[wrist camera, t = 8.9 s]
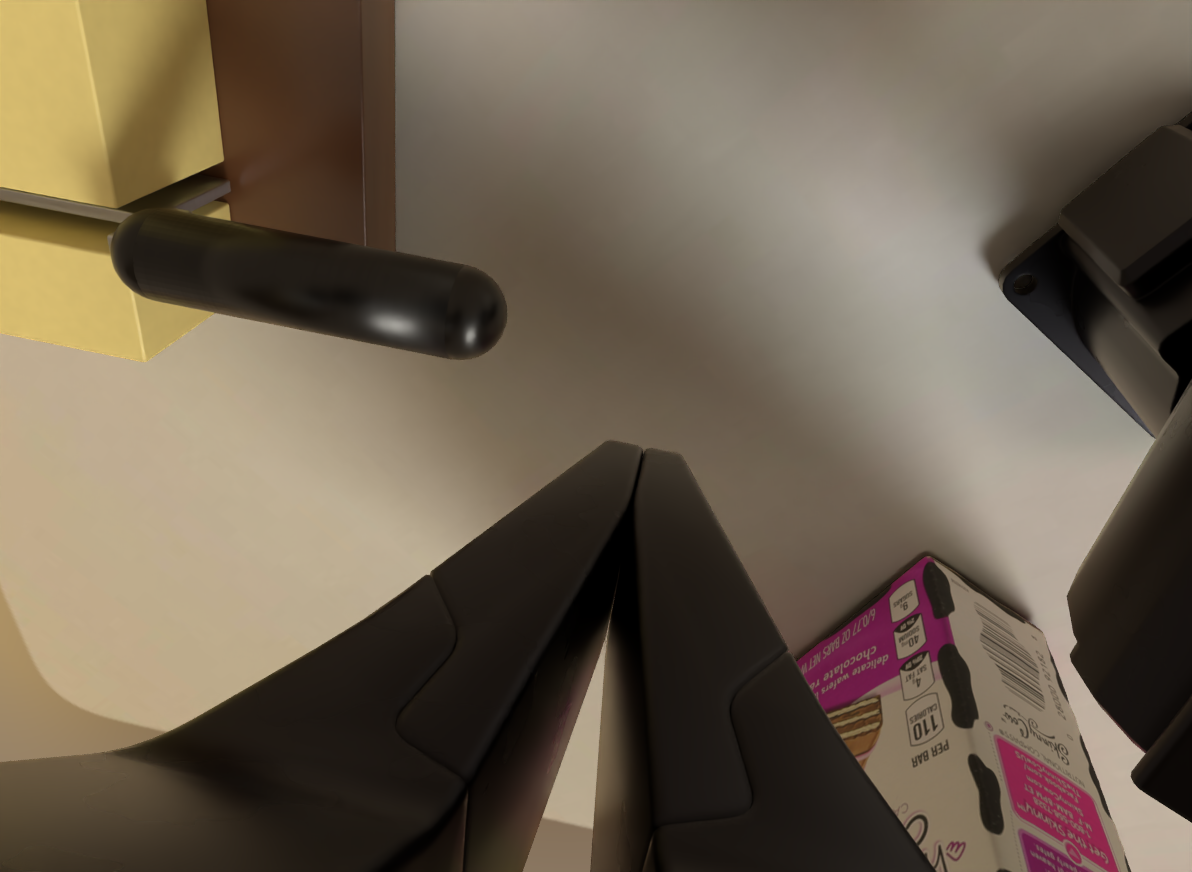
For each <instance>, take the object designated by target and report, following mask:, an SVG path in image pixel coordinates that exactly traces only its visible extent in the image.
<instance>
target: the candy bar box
mask: <svg viewBox="0 0 1192 872" xmlns="http://www.w3.org/2000/svg"><path fill="white" fill-rule="evenodd" d="M797 664H798V666H799V668H800V670H801V671H802V673H803V675H804V677H805V679H806V680H807V682H808V684H809V685H810V687H811V689H812V690H813V692H814V694H815V695H816V697H817V699H818V701H819V702H820V704H821V706H822V707H823V709H824V711H825V712H826V714H827V716H828V717H829V719H830V721H831V722H832V724H833V725H834V727H835V728H836V730H837V731H838V733H839V734H840V736H841V737H842V739H843V740H844V741H845V743H846V744H847V746H848V747H849V749H850V750H851V752H852V753H853V755H854V756H855V758H856V759H857V761H858V762H859V764H860V765H861V767H862V768H863V769H864V771H865V772H866V774H867V775H868V777H869V778H870V779H871V781H872V782H873V783H874V785H875V786H876V788H877V789H878V790H879V792H880V793H881V795H882V796H883V797H884V799H885V800H886V802H887V803H888V804H889V806H890V807H891V809H892V810H893V811H894V813H895V814H896V816H897V817H898V818H899V820H900V821H901V822H902V824H903V825H904V827H905V828H906V829H907V831H908V832H909V834H910V835H911V836H912V838H913V839H914V841H915V842H916V843H917V845H918V846H919V848H920V849H921V850H922V852H923V853H924V855H925V856H926V857H927V859H928V860H929V861H930V863H931V864H932V866H933V867H934V868H935V870H936V871H937V872H1131V870H1130V867H1129V865H1128V862H1127V859H1126V856H1125V852H1124V848H1123V845H1122V843H1121V841H1120V838H1119V835H1118V832H1117V829H1116V827H1115V824H1114V822H1113V820H1112V818H1111V816H1110V813H1109V810H1108V807H1107V804H1106V801H1105V798H1104V795H1103V793H1102V790H1101V788H1100V784H1099V781H1098V779H1097V776H1096V774H1095V771H1094V768H1093V766H1092V763H1091V760H1090V757H1089V754H1088V751H1087V749H1086V747H1085V744H1084V742H1083V739H1082V736H1081V734H1080V731H1079V728H1078V725H1077V721H1076V718H1075V716H1074V714H1073V711H1072V709H1071V707H1070V705H1069V701H1068V698H1067V695H1066V692H1065V689H1064V687H1063V684H1062V681H1061V679H1060V676H1059V673H1058V670H1057V668H1056V666H1055V663H1054V659H1053V657H1052V655H1051V653H1050V650H1049V648H1048V645H1047V642H1046V638H1045V636H1044V634H1043V632H1042V631H1041V630H1040V629H1039V628H1037V627H1036V626H1034V625H1033V624H1031V623H1030V622H1028V621H1027V620H1026V619H1024V618H1023V617H1021V616H1020V615H1018V614H1017V613H1015V612H1014V611H1012V610H1011V609H1009V608H1007V607H1005V606H1004V605H1002V604H1000V603H998V602H997V601H995V600H994V599H993V598H991V597H990V596H988V595H987V594H985V593H984V592H983V591H981V590H980V589H979V588H978V587H976V586H975V585H973V584H971V583H970V582H968V581H967V580H966V579H965V578H964V577H962V576H961V575H959V574H958V573H957V572H955V571H954V570H952V569H950V568H949V567H947V566H945V565H943V564H942V563H940V562H939V561H937V560H936V559H934V558H933V557H930V556H927V557H924V558H923V559H921V560H920V561H919V562H918V563H916V564H915V565H914V566H913V567H912V568H910V569H909V570H908V571H907V572H906V573H904V574H903V575H902V576H901V577H900V578H898V579H897V580H896V581H895V582H893V583H892V584H891V585H890V586H889V587H888V588H886V589H885V590H884V591H883V592H882V593H880V594H879V595H878V596H877V597H875V598H874V599H873V600H872V601H870V602H869V603H868V604H867V605H865V606H864V607H863V608H862V609H861V610H860V611H858V612H857V613H856V614H855V615H853V616H852V617H851V618H850V619H849V620H847V621H846V622H845V623H843V624H842V625H841V626H840V627H839V628H837V629H836V630H835V631H834V632H833V633H832V634H830V635H829V636H828V637H826V638H825V639H824V640H823V641H822V642H820V643H819V644H818V645H816V646H815V647H814V648H812V649H811V650H810V651H809V652H808V653H806V654H805V655H804V656H803V657H802V658H800V659H799V660H798V661H797Z"/></svg>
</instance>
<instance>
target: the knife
mask: <svg viewBox="0 0 1192 872" xmlns="http://www.w3.org/2000/svg"><path fill="white" fill-rule="evenodd" d="M229 192H231V188H230V181H229V180H226V179H221V178H215V177H210V176H204V175H199V174H193V175H191V176H189V177H187V178H184V179H182V180H180V181H178V182H175V183H173V184H171V185H169V186H166V187H164V188H162V189H160V190H157V191H155V192H153V193H151V194H148V195H146V196H144V197H141V198H139V199H137V200H135V201H132V202H130V203H128V204H126V205H123V206H121V207H119V208H110V207H105V206H99V205H94V204H89V203H84V202H78V201H73V200H68V199H62V198H57V197H52V196H46V195H41V194H36V193H31V192H25V191H20V190H15V189H9V188H4V187H0V201H5V202H11V203H16V204H21V205H26V206H32V207H37V208H42V209H48V210H53V211H58V212H63V213H69V214H74V215H79V216H84V217H90V218H95V219H100V220H105V221H111V222H116V223H120V224H119V226H118V227H117V229H116V231H115V232H113V233H111V234H109V235H108V236H107V240H108V245H109V250H110V255H111V260H112V264H113V267H114V269H115V272H116V273H117V275H118V276H119V278H120V279H121V281H122V282H123V283H124V284H125V285H126V286H127V287H129V288H130V289H131V290H132V291H133V292H135V293H137V294H138V295H140V296H142V297H144V298H147V299H150V300H153V301H157V302H162V303H168V304H173V305H178V306H183V307H188V308H193V309H198V310H203V311H208V312H213V313H218V314H223V315H229V316H234V317H239V318H244V319H249V320H254V321H259V322H264V323H269V324H274V325H279V326H285V327H290V328H295V329H300V330H305V331H310V332H315V333H320V334H325V335H330V336H335V337H340V338H346V339H351V340H356V341H361V342H366V343H371V344H376V345H381V346H386V347H391V348H396V349H401V350H407V351H412V352H417V353H422V354H427V355H432V356H437V357H442V358H447V359H456V360H467V359H472V358H476V357H479V356H481V355H482V354H484V353H486V352H488V351H489V350H490V349H491V348H492V347H494V346H495V345H496V343H497V342H498V340H499V339H500V338H501V336H502V334H503V332H504V329H505V326H506V322H507V305H506V301H505V298H504V295H503V293H502V291H501V289H500V287H499V286H498V284H497V283H496V282H495V281H494V280H493V279H492V278H491V277H490V276H489V275H488V274H486V273H485V272H483V271H481V270H479V269H477V268H475V267H472V266H468V265H463V264H458V263H453V262H447V261H442V260H437V259H432V258H426V257H421V256H416V255H410V254H405V253H400V252H394V251H389V250H384V249H378V248H373V247H368V246H362V245H357V244H352V243H346V242H341V241H336V240H330V239H325V238H320V237H314V236H309V235H304V234H298V233H293V232H288V231H282V230H277V229H272V228H266V227H261V226H256V225H250V224H245V223H240V222H234V221H229V220H224V219H218V218H213V217H208V216H202V215H197V214H193V213H192V211H194V210H196V209H198V208H200V207H202V206H204V205H206V204H208V203H210V202H212V201H214V200H216V199H217V198H219V197H221V196H223V195H225V194H227V193H229Z"/></svg>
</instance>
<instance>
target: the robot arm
mask: <svg viewBox="0 0 1192 872" xmlns="http://www.w3.org/2000/svg"><path fill="white" fill-rule="evenodd" d="M1028 274H1030V275H1032V276H1033V277H1032V281H1031V282H1030V284H1029V285H1028V286H1026V287H1024V288H1018V289H1016V288H1014V282H1015V281H1016V280H1017V278H1018V277H1020V276H1022V275H1028ZM999 287H1000V289H1001V290H1002V292H1003V294H1004V295H1005V297H1006V298H1007V300H1008V301H1010V302H1011V303H1012V304H1013V305H1014V306H1015V307H1016V308H1017V309H1018V310H1019V311H1020V312H1021V313H1022V314H1023V315H1024V316H1025V317H1026V318H1027V319H1028V320H1030V321H1031V322H1032V323H1033V324H1034V325H1035V326H1036V327H1037V328H1038V329H1039V330H1040V331H1041V332H1042V333H1043V334H1044V335H1045V336H1046V337H1047V338H1049V339H1050V340H1051V341H1052V342H1053V343H1054V344H1055V345H1056V346H1057V347H1058V348H1059V349H1060V350H1061V351H1062V352H1063V353H1064V354H1065V355H1066V356H1067V357H1069V358H1070V359H1071V360H1072V361H1073V362H1074V363H1075V364H1076V365H1077V366H1078V367H1079V368H1080V369H1081V370H1082V371H1083V372H1084V373H1085V374H1086V375H1087V376H1089V377H1090V378H1091V379H1092V380H1093V381H1094V382H1095V383H1096V384H1097V385H1098V386H1099V387H1100V388H1101V389H1102V390H1103V391H1104V392H1105V393H1106V394H1108V395H1109V396H1110V397H1111V398H1112V399H1113V400H1114V401H1115V402H1116V403H1117V404H1118V405H1119V406H1120V407H1121V408H1122V409H1123V410H1124V411H1125V412H1126V413H1128V414H1129V415H1130V416H1131V417H1132V418H1133V419H1134V420H1135V421H1136V422H1137V423H1138V424H1139V425H1140V426H1141V427H1142V428H1143V429H1144V430H1145V431H1146V432H1148V433H1149V434H1150V435H1151V436H1152V437H1154V438H1155V439H1156V440H1155V442H1154V443H1153V445H1152V447H1151V448H1150V450H1149V452H1148V453H1147V455H1146V457H1145V459H1144V460H1143V462H1142V464H1141V465H1140V467H1139V469H1138V470H1137V472H1136V474H1135V475H1134V477H1133V479H1132V480H1131V482H1130V484H1129V485H1128V487H1127V489H1126V491H1125V492H1124V494H1123V496H1122V497H1121V499H1120V501H1119V502H1118V504H1117V506H1116V507H1115V509H1114V511H1113V512H1112V514H1111V516H1110V517H1109V519H1108V521H1107V523H1106V524H1105V526H1104V528H1103V529H1102V531H1101V533H1100V534H1099V536H1098V538H1097V539H1096V541H1095V543H1094V544H1093V546H1092V548H1091V549H1090V551H1089V553H1088V555H1087V556H1086V558H1085V560H1084V561H1083V563H1082V565H1081V566H1080V568H1079V570H1078V572H1077V574H1076V576H1075V579H1074V581H1073V583H1072V585H1071V588H1070V590H1069V592H1068V595H1067V600H1068V606H1069V611H1070V617H1071V622H1072V628H1073V633H1074V636H1075V638H1076V640H1077V644H1076V645H1075V647H1074V648H1073V650H1072V652H1071V654H1070V658H1071V662H1072V664H1073V665H1074V667H1075V668H1076V670H1077V671H1078V673H1079V675H1080V676H1081V678H1082V679H1083V681H1084V683H1085V684H1086V686H1087V687H1088V689H1089V690H1090V692H1091V694H1092V695H1093V697H1094V698H1095V699H1096V701H1097V702H1098V704H1099V705H1100V707H1101V708H1102V709H1103V710H1104V711H1105V712H1106V713H1107V714H1108V716H1109V717H1110V718H1111V719H1112V720H1113V721H1114V722H1115V723H1116V724H1117V725H1118V727H1119V728H1120V729H1121V730H1122V731H1123V732H1124V733H1125V734H1126V735H1127V737H1128V738H1129V739H1130V740H1131V741H1132V742H1133V743H1134V744H1135V745H1136V746H1137V747H1139V748H1140V749H1141V750H1142V751H1143V752H1144V753H1146V754H1145V755H1144V757H1143V758H1142V759H1141V760H1140V762H1139V763H1138V764H1137V766H1136V767H1135V768H1134V769H1133V771H1132V772H1131V778H1132V780H1133V783H1134V784H1135V785H1136V786H1137V787H1138V788H1139V789H1140V790H1142V791H1143V792H1144V793H1146V794H1147V795H1149V796H1151V797H1152V798H1154V799H1155V800H1157V801H1158V802H1160V803H1162V804H1163V805H1165V806H1166V807H1168V808H1169V809H1171V810H1173V811H1174V812H1176V813H1177V814H1179V815H1180V816H1182V817H1184V818H1185V819H1187V820H1188V821H1190V822H1192V112H1191V113H1190V114H1189V115H1187V116H1186V117H1185V118H1184V119H1183V120H1181V121H1180V122H1179V123H1178V124H1177V125H1169V126H1162V127H1160V128H1158V129H1157V130H1156V131H1155V132H1154V133H1152V134H1151V135H1150V136H1149V137H1148V138H1146V139H1145V140H1144V141H1143V142H1142V143H1140V144H1139V145H1138V146H1137V147H1136V148H1134V149H1133V150H1132V151H1131V152H1130V153H1129V154H1127V155H1126V156H1125V157H1124V158H1123V159H1121V160H1120V161H1119V162H1118V163H1117V164H1115V165H1114V166H1113V167H1112V168H1111V169H1109V170H1108V171H1107V172H1106V173H1105V174H1103V175H1102V176H1101V177H1100V178H1099V179H1097V180H1096V181H1095V182H1094V183H1093V184H1092V185H1090V186H1089V187H1088V188H1087V189H1086V190H1084V191H1083V192H1082V193H1081V194H1080V195H1078V196H1077V197H1076V198H1075V199H1074V200H1072V201H1071V202H1070V203H1069V204H1068V205H1066V206H1065V207H1064V208H1063V209H1062V210H1061V213H1060V217H1059V221H1058V223H1057V224H1056V225H1055V226H1054V227H1053V228H1051V229H1050V230H1049V231H1048V232H1047V233H1045V234H1044V235H1043V236H1042V237H1041V238H1039V239H1038V240H1037V241H1036V242H1035V243H1033V244H1032V245H1031V246H1030V247H1029V248H1027V249H1026V250H1025V251H1024V252H1023V253H1021V254H1020V255H1019V256H1018V257H1016V258H1015V259H1014V260H1013V261H1012V262H1010V263H1009V264H1008V265H1007V266H1006V267H1005V268H1004V269H1003V271H1002V272H1001V274H1000V277H999ZM613 602H614V603H613ZM612 606H613V608H612ZM611 611H612V613H611ZM610 616H611V618H610ZM609 620H610V624H609ZM608 625H609V630H608V636H607V644H606V654H605V667H604V681H603V696H602V710H601V725H600V739H599V754H598V768H597V782H596V797H595V811H594V826H593V840H592V855H591V870H590V872H937V871H936V870H935V868H934V867H933V866H932V864H931V863H930V861H929V860H928V859H927V857H926V856H925V855H924V853H923V852H922V850H921V849H920V848H919V846H918V845H917V843H916V842H915V841H914V839H913V838H912V836H911V835H910V834H909V832H908V831H907V829H906V828H905V827H904V825H903V824H902V822H901V821H900V820H899V818H898V817H897V816H896V814H895V813H894V811H893V810H892V809H891V807H890V806H889V804H888V803H887V802H886V800H885V799H884V797H883V796H882V795H881V793H880V792H879V790H878V789H877V788H876V786H875V785H874V783H873V782H872V781H871V779H870V778H869V777H868V775H867V774H866V772H865V771H864V769H863V768H862V767H861V765H860V764H859V762H858V761H857V759H856V758H855V756H854V755H853V753H852V752H851V750H850V749H849V747H848V746H847V744H846V743H845V741H844V740H843V739H842V737H841V736H840V734H839V733H838V731H837V730H836V728H835V727H834V725H833V724H832V722H831V721H830V719H829V717H828V716H827V714H826V712H825V711H824V709H823V707H822V706H821V704H820V702H819V701H818V699H817V697H816V695H815V694H814V692H813V690H812V689H811V687H810V685H809V684H808V682H807V680H806V679H805V677H804V675H803V673H802V671H801V670H800V668H799V666H798V664H797V662H796V660H795V658H794V657H793V655H792V654H791V653H789V652H788V646H787V645H786V643H785V641H784V639H783V637H782V636H781V634H780V632H779V630H778V628H777V626H776V625H775V623H774V621H773V619H772V617H771V616H770V614H769V612H768V610H767V608H766V607H765V605H764V603H763V601H762V599H761V597H760V596H759V594H758V592H757V590H756V588H755V587H754V585H753V583H752V581H751V579H750V578H749V576H748V574H747V572H746V570H745V568H744V567H743V565H742V563H741V561H740V559H739V558H738V556H737V554H736V552H735V550H734V549H733V547H732V545H731V543H730V541H729V540H728V538H727V536H726V534H725V532H724V530H723V529H722V527H721V525H720V523H719V521H718V520H717V518H716V516H715V514H714V512H713V511H712V509H711V507H710V505H709V503H708V501H707V500H706V498H705V496H704V494H703V492H702V491H701V489H700V487H699V485H698V483H697V482H696V480H695V478H694V476H693V474H692V472H691V471H690V469H689V467H688V465H687V463H686V462H685V460H684V458H683V457H682V456H681V455H680V454H678V453H674V452H669V451H664V450H658V449H653V448H649V449H646V450H645V451H644V454H643V450H642V448H641V447H640V446H638V445H633V444H628V443H623V442H618V441H613V440H609V441H606V442H604V443H603V444H602V445H600V446H599V447H598V448H596V449H595V450H594V451H592V452H591V453H589V454H588V455H587V456H585V457H584V458H583V459H581V460H580V461H579V462H577V463H576V464H575V465H573V466H572V467H571V468H569V469H568V470H567V471H565V472H564V473H563V474H561V475H560V476H559V477H557V478H556V479H555V480H553V481H552V482H551V483H549V484H548V485H546V486H545V487H544V488H542V489H541V490H540V491H538V492H537V493H536V494H534V495H533V496H532V497H530V498H529V499H528V500H526V501H525V502H524V503H522V504H521V505H520V506H518V507H517V508H516V509H514V510H513V511H512V512H510V513H509V514H507V515H506V516H505V517H503V518H502V519H501V520H499V521H498V522H497V523H495V524H494V525H493V526H491V527H490V528H489V529H487V530H486V531H485V532H483V533H482V534H481V535H479V536H478V537H477V538H475V539H474V540H473V541H471V542H470V543H468V544H467V545H466V546H464V547H463V548H462V549H460V550H459V551H458V552H456V553H455V554H454V555H452V556H451V557H450V558H448V559H447V560H446V561H444V562H443V563H442V564H440V565H439V566H438V567H436V568H435V569H434V570H432V571H431V573H430V575H425V576H424V577H422V578H421V579H420V580H418V581H417V582H416V583H414V584H413V585H411V586H410V587H409V588H407V589H406V590H405V591H403V592H402V593H401V594H399V595H398V596H396V597H395V598H393V599H392V600H391V601H389V602H388V603H386V604H385V605H383V606H382V607H380V608H379V609H378V610H376V611H375V612H373V613H372V614H370V615H369V616H368V617H366V618H365V619H363V620H361V621H360V622H358V623H357V624H355V625H353V626H352V627H350V628H348V629H347V630H345V631H344V632H342V633H340V634H339V635H337V636H335V637H334V638H332V639H330V640H329V641H327V642H326V643H324V644H322V645H321V646H319V647H317V648H316V649H314V650H312V651H311V652H309V653H307V654H305V655H304V656H302V657H300V658H298V659H297V660H295V661H293V662H291V663H290V664H288V665H286V666H285V667H283V668H281V669H279V670H278V671H276V672H274V673H272V674H271V675H269V676H267V677H266V678H264V679H262V680H260V681H259V682H257V683H255V684H253V685H252V686H250V687H248V688H246V689H245V690H243V691H241V692H240V693H238V694H236V695H234V696H233V697H231V698H229V699H227V700H226V701H224V702H222V703H220V704H219V705H217V706H215V707H214V708H212V709H210V710H208V711H207V712H205V713H203V714H201V715H200V716H198V717H196V718H194V719H192V720H190V721H189V722H187V723H185V724H183V725H181V726H179V727H177V728H175V729H173V730H171V731H169V732H166V733H164V734H162V735H159V736H157V737H155V738H153V739H150V740H147V741H144V742H141V743H138V744H135V745H132V746H129V747H125V748H121V749H116V750H112V751H107V752H101V753H94V754H84V755H74V756H62V757H51V758H40V759H29V760H18V761H8V762H0V872H522V871H523V868H524V866H525V863H526V860H527V857H528V855H529V852H530V849H531V846H532V843H533V841H534V838H535V835H536V832H537V829H538V827H539V824H540V821H541V818H542V815H543V813H544V810H545V807H546V804H547V801H548V799H549V796H550V793H551V790H552V787H553V785H554V782H555V779H556V776H557V773H558V771H559V768H560V765H561V762H562V759H563V757H564V754H565V751H566V748H567V745H568V742H569V740H570V737H571V734H572V731H573V728H574V726H575V723H576V720H577V717H578V714H579V712H580V709H581V706H582V703H583V700H584V698H585V695H586V692H587V689H588V686H589V684H590V681H591V678H592V675H593V672H594V670H595V667H596V664H597V661H598V658H599V656H600V652H601V649H602V646H603V643H604V640H605V637H606V633H607V629H608Z"/></svg>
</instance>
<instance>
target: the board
mask: <svg viewBox="0 0 1192 872" xmlns="http://www.w3.org/2000/svg"><path fill="white" fill-rule="evenodd" d="M206 6H207V15H208V23H209V32H210V41H211V50H212V58H213V67H214V76H215V85H216V93H217V102H218V111H219V120H220V129H221V137H222V146H223V155H224V161H223V162H220V163H218V164H216V165H214V166H211V167H209V168H207V169H205V170H202V171H200V172H198V173H196V174H199V175H204V176H210V177H215V178H221V179H226V180H229V181H230V188H231V192H229V193H227V194H225V195H223V196H221V197H219V198H217V199H216V200H214V201H219V202H224V203H228V204H229V209H230V218H231V221H234V222H240V223H245V224H250V225H256V226H261V227H266V228H272V229H277V230H282V231H288V232H293V233H298V234H304V235H309V236H314V237H320V238H325V239H330V240H336V241H341V242H346V243H352V244H357V245H362V246H368V247H373V248H378V249H384V250H389V251H394V252H396V237H395V0H206Z"/></svg>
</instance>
